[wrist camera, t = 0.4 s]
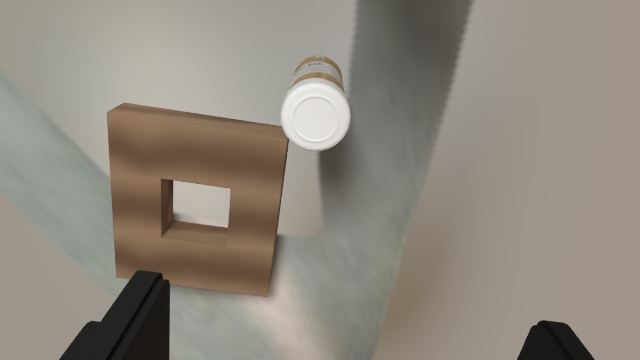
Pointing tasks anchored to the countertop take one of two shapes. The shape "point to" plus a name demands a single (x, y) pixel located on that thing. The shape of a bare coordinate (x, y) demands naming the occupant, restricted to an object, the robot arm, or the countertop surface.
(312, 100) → the sprinkles bottle
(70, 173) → the countertop surface
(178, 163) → the walnut hole board
